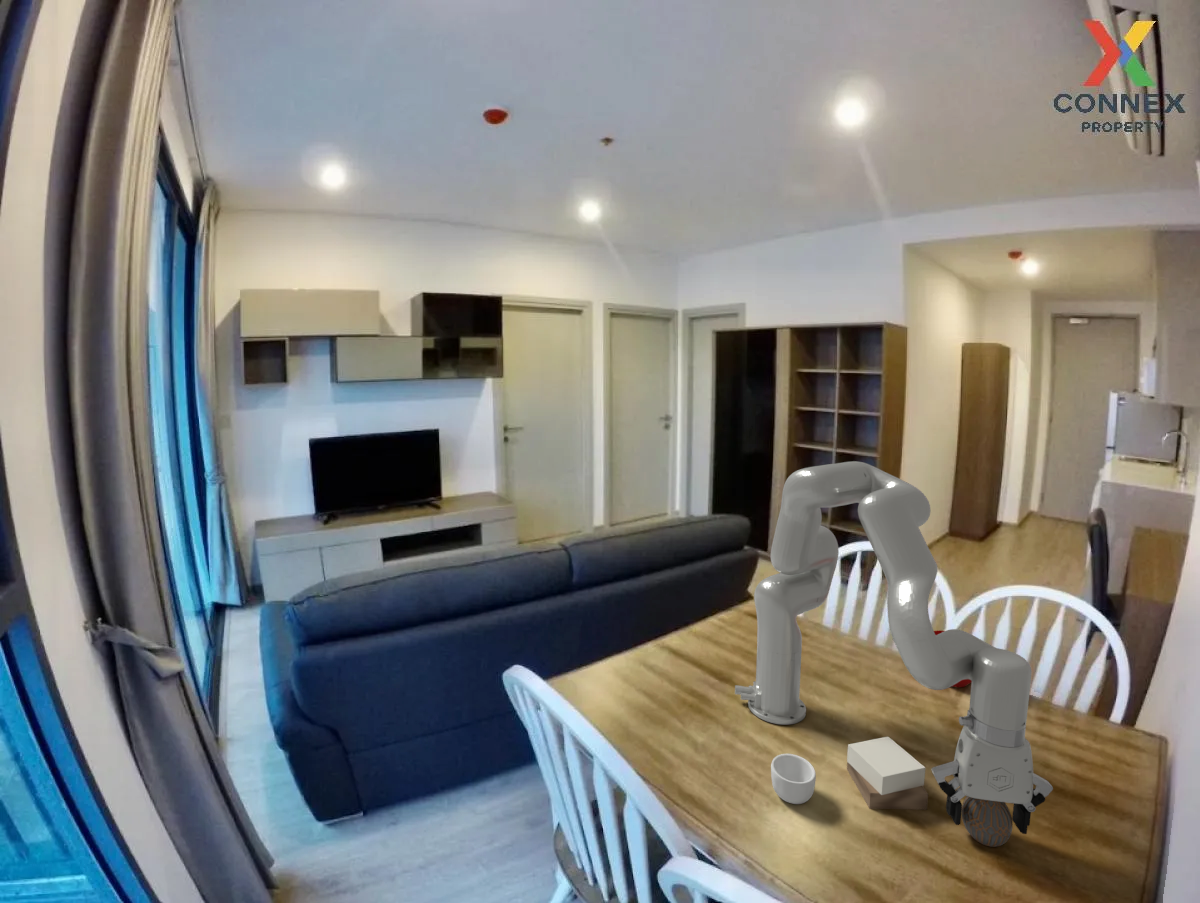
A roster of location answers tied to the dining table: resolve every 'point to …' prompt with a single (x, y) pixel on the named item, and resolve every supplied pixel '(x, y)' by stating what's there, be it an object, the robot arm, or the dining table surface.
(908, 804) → the base block
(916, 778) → the top block
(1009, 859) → the dining table surface
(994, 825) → the vase
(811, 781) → the teacup
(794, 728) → the dining table surface
